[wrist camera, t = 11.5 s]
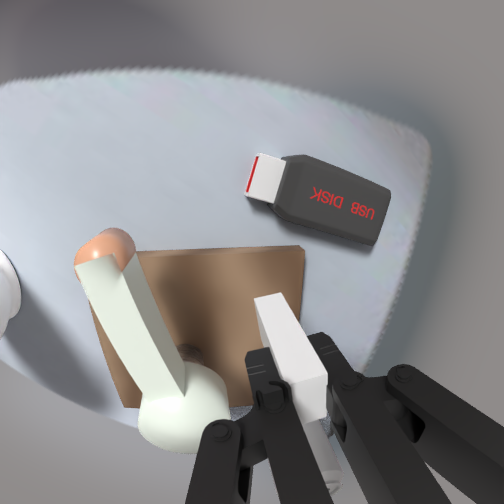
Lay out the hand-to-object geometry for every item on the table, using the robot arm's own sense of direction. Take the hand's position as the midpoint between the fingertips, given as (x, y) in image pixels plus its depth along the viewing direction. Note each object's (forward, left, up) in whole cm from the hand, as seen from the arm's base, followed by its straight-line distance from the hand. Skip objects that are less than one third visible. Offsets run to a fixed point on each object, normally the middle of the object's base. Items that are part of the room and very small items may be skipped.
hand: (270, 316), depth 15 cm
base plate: (-5, -7, -9) cm, 12 cm away
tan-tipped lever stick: (-7, -3, -3) cm, 8 cm away
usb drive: (+6, +6, -9) cm, 12 cm away
